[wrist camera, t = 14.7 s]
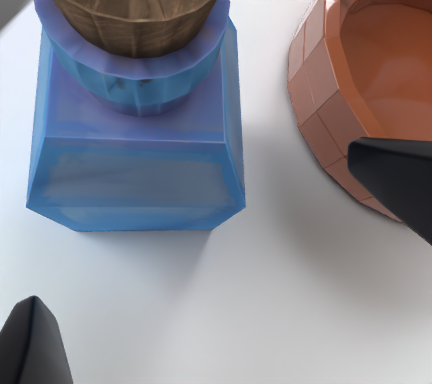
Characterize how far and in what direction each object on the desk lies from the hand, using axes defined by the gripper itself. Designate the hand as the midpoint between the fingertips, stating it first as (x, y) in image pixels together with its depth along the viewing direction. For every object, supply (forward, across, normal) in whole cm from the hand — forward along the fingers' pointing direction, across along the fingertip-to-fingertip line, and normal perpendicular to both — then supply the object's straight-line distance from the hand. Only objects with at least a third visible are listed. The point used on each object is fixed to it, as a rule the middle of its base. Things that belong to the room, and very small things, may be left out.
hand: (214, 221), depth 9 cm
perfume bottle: (+8, 0, +2) cm, 9 cm away
